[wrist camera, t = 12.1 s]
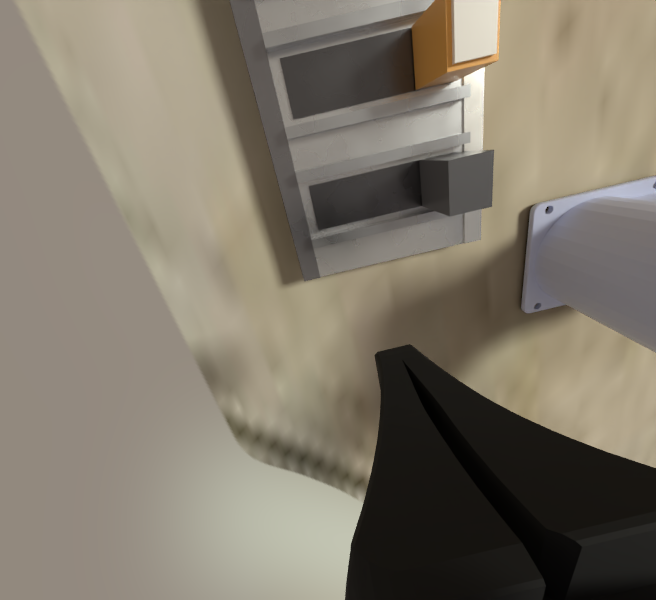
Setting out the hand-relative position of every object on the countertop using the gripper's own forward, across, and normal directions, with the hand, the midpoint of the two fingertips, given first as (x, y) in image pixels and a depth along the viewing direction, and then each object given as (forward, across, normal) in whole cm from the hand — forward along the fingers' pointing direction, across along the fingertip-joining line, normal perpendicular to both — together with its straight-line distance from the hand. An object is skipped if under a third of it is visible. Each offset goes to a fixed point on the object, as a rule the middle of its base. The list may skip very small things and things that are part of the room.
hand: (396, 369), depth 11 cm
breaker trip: (+8, -6, -10) cm, 14 cm away
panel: (+10, -2, -10) cm, 15 cm away
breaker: (+8, -6, -5) cm, 11 cm away
